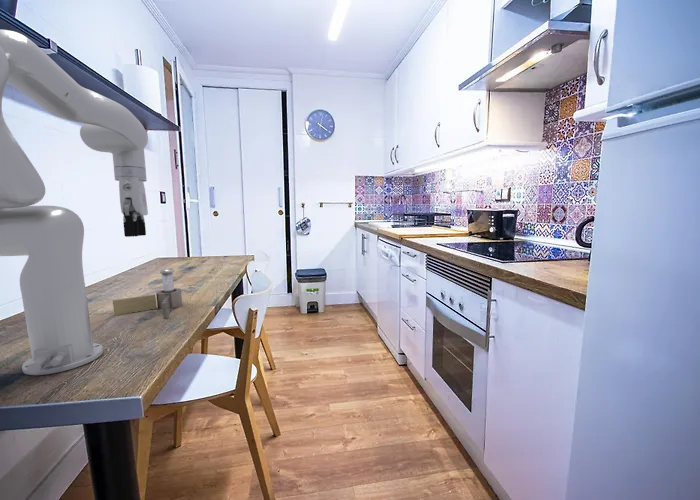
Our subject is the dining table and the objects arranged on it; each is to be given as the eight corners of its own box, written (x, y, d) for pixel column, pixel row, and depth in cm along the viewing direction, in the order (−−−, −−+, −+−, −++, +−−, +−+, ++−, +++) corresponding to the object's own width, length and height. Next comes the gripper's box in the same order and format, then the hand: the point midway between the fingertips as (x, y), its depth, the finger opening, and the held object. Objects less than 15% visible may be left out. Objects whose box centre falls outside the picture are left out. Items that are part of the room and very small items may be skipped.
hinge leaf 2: (179, 316, 94) (177, 299, 94) (151, 320, 92) (149, 303, 91) (183, 302, 110) (181, 287, 109) (159, 304, 107) (158, 289, 106)
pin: (176, 307, 104) (173, 270, 103) (162, 308, 103) (159, 271, 101) (177, 303, 108) (174, 268, 106) (164, 305, 106) (160, 269, 105)
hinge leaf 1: (156, 308, 104) (155, 294, 103) (156, 308, 103) (155, 294, 102) (114, 314, 98) (112, 300, 97) (114, 315, 97) (112, 300, 97)
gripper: (139, 170, 86) (144, 236, 88) (151, 179, 102) (156, 234, 104) (104, 170, 84) (111, 237, 85) (123, 179, 100) (128, 235, 101)
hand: (135, 235), depth 94 cm, fingers open, 9 cm apart
